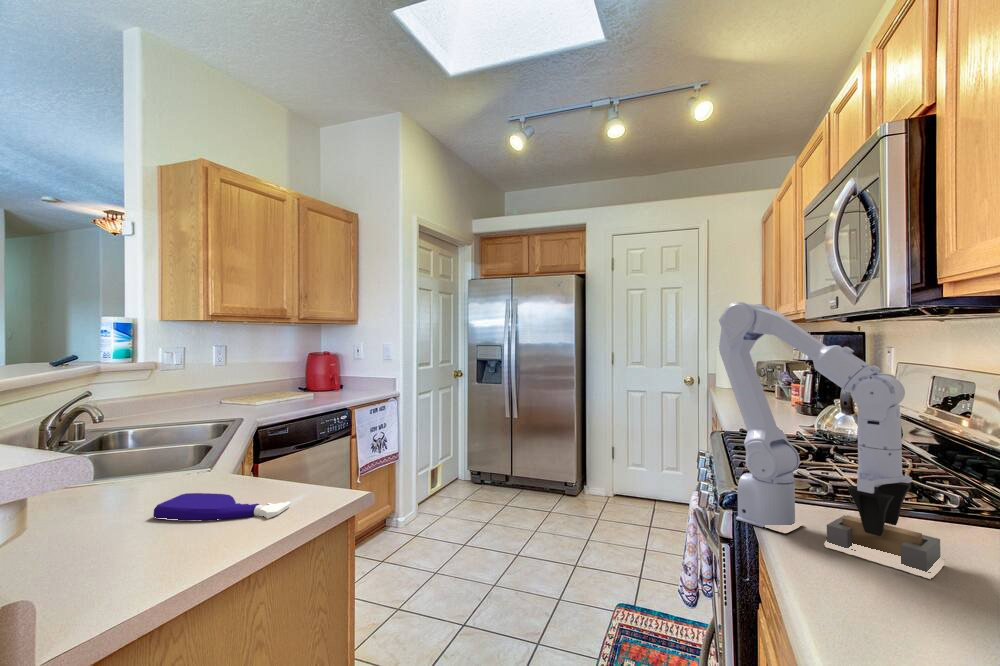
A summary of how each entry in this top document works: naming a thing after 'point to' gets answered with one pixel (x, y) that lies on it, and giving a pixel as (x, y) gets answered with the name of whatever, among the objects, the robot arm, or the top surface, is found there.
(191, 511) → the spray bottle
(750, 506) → the robot arm
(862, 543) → the slat
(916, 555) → the end caps
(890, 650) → the top surface
